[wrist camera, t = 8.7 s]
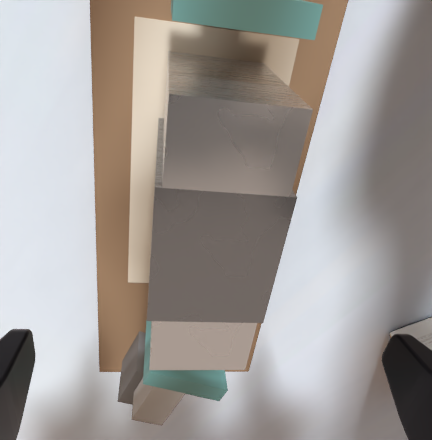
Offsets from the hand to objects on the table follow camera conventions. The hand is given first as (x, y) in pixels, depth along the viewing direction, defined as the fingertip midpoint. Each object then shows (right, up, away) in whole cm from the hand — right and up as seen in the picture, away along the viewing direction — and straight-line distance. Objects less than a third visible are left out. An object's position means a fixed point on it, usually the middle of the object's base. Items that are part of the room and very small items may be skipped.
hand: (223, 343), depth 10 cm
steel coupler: (-1, +5, +8) cm, 9 cm away
